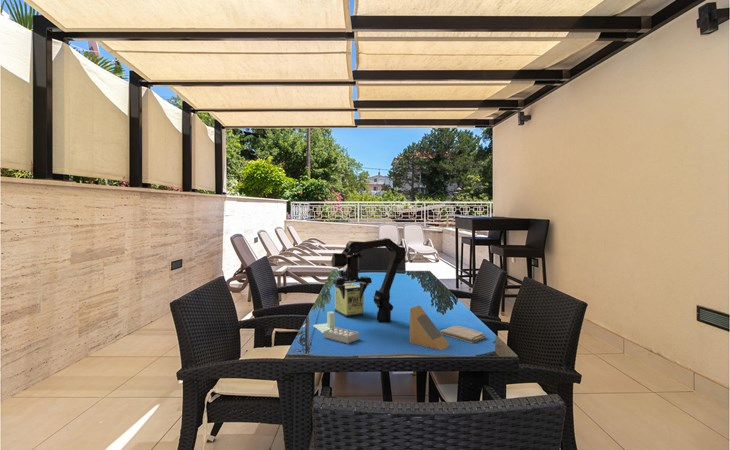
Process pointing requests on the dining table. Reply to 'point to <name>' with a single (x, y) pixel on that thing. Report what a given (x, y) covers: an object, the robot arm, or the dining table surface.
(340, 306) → the protein box
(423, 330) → the sandwich container
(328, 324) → the pale green grooved stand
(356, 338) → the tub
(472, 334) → the washcloth
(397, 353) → the dining table surface
